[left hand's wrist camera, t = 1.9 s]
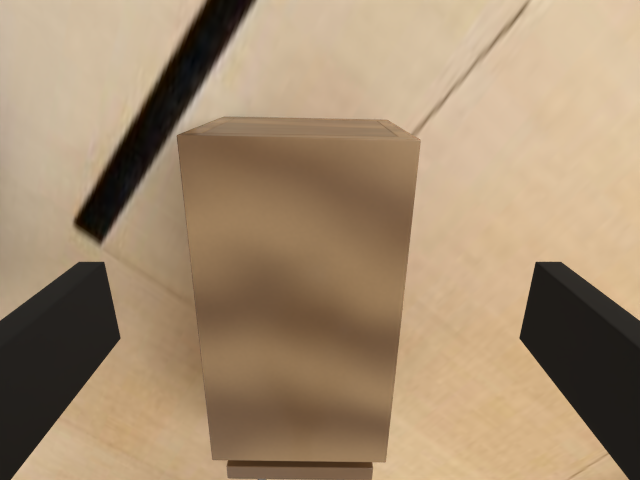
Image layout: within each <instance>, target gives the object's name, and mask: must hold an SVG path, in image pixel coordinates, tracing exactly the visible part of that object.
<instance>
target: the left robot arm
mask: <svg viewBox="0 0 640 480" xmlns="http://www.w3.org/2000/svg"><path fill="white" fill-rule="evenodd" d="M119 340H120V333H119V329H118V324H117V319H116V315H115V310H114V305H113V301H112V296H111V291H110V287H109V282H108V277H107V273H106V268H105V263H104V262H78V263H77V264H76V265H74V266H73V267H72V268H70V269H69V270H68V271H66V272H65V273H64V274H62V275H61V276H60V277H58V278H57V279H56V280H54V281H53V282H52V283H50V284H49V285H48V286H46V287H45V288H44V289H42V290H41V291H40V292H38V293H37V294H35V295H34V296H33V297H31V298H30V299H29V300H27V301H26V302H25V303H23V304H22V305H21V306H19V307H18V308H17V309H15V310H14V311H13V312H11V313H10V314H9V315H7V316H6V317H5V318H3V319H2V320H1V321H0V480H11V479H12V477H13V476H14V475H15V473H16V472H17V471H18V470H19V468H20V467H21V466H22V464H23V463H24V462H25V461H26V459H27V458H28V457H29V455H30V454H31V453H32V452H33V450H34V449H35V448H36V446H37V445H38V444H39V443H40V441H41V440H42V439H43V437H44V436H45V435H46V434H47V432H48V431H49V430H50V428H51V427H52V426H53V425H54V423H55V422H56V421H57V419H58V418H59V417H60V416H61V414H62V413H63V412H64V410H65V409H66V408H67V407H68V405H69V404H70V403H71V401H72V400H73V399H74V398H75V396H76V395H77V394H78V392H79V391H80V390H81V389H82V387H83V386H84V385H85V383H86V382H87V381H88V380H89V378H90V377H91V376H92V374H93V373H94V372H95V371H96V369H97V368H98V367H99V365H100V364H101V363H102V362H103V360H104V359H105V358H106V356H107V355H108V354H109V352H110V351H111V350H112V349H113V347H114V346H115V345H116V343H117V342H118V341H119ZM520 340H521V341H522V342H523V343H524V345H525V346H526V347H527V349H528V350H529V351H530V352H531V354H532V355H533V356H534V358H535V359H536V360H537V362H538V363H539V364H540V365H541V367H542V368H543V369H544V371H545V372H546V373H547V374H548V376H549V377H550V378H551V380H552V381H553V382H554V383H555V385H556V386H557V387H558V389H559V390H560V391H561V392H562V394H563V395H564V396H565V398H566V399H567V400H568V401H569V403H570V404H571V405H572V407H573V408H574V409H575V410H576V412H577V413H578V414H579V416H580V417H581V418H582V419H583V421H584V422H585V423H586V425H587V426H588V427H589V428H590V430H591V431H592V432H593V434H594V435H595V436H596V437H597V439H598V440H599V441H600V443H601V444H602V445H603V446H604V448H605V449H606V450H607V452H608V453H609V454H610V455H611V457H612V458H613V459H614V461H615V462H616V463H617V464H618V466H619V467H620V468H621V470H622V471H623V472H624V473H625V475H626V476H627V477H628V479H629V480H640V321H639V320H638V319H637V318H635V317H634V316H633V315H631V314H630V313H629V312H627V311H626V310H625V309H623V308H622V307H621V306H619V305H618V304H617V303H615V302H614V301H613V300H611V299H610V298H609V297H607V296H606V295H604V294H603V293H602V292H600V291H599V290H598V289H596V288H595V287H594V286H592V285H591V284H590V283H588V282H587V281H586V280H584V279H583V278H582V277H580V276H579V275H578V274H576V273H575V272H574V271H572V270H571V269H570V268H568V267H567V266H566V265H564V264H563V263H562V262H536V263H535V268H534V273H533V277H532V282H531V287H530V291H529V296H528V301H527V305H526V310H525V315H524V319H523V324H522V329H521V333H520Z"/></svg>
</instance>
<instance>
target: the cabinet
mask: <svg viewBox="0 0 640 480" xmlns="http://www.w3.org/2000/svg"><path fill="white" fill-rule="evenodd" d="M177 142H178V151H179V160H180V169H181V178H182V187H183V196H184V205H185V215H186V224H187V233H188V242H189V251H190V260H191V269H192V278H193V287H194V296H195V305H196V314H197V324H198V333H199V342H200V351H201V360H202V369H203V378H204V387H205V396H206V405H207V414H208V424H209V433H210V442H211V451H212V459H213V460H254V461H327V462H386V455H387V446H388V436H389V427H390V418H391V409H392V400H393V390H394V381H395V372H396V363H397V354H398V344H399V335H400V326H401V317H402V308H403V298H404V289H405V280H406V271H407V261H408V252H409V243H410V234H411V225H412V215H413V206H414V197H415V188H416V179H417V169H418V160H419V151H420V142H421V140H420V139H418V138H416V137H414V136H413V135H411V134H410V133H408V132H406V131H405V130H403V129H401V128H400V127H398V126H396V125H395V124H393V123H392V122H390V121H388V120H364V119H312V118H260V117H222V118H219V119H217V120H214V121H212V122H209V123H207V124H204V125H202V126H199V127H197V128H194V129H192V130H189V131H186V132H184V133H181V134H179V135H177Z"/></svg>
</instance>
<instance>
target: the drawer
mask: <svg viewBox="0 0 640 480" xmlns="http://www.w3.org/2000/svg"><path fill="white" fill-rule="evenodd" d="M372 473H373V465H372V462H327V461H254V460H228V463H227V475H228V478H233V479H258V480H267V479H308V480H372Z"/></svg>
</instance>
